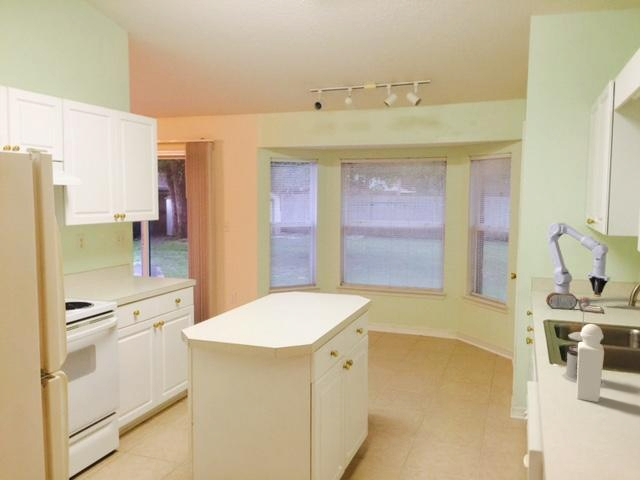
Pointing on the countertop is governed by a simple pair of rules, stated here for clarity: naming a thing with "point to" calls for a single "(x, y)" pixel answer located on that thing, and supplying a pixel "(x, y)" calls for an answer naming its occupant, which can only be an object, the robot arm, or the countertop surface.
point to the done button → (584, 299)
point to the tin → (561, 300)
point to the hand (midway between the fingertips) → (597, 291)
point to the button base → (584, 302)
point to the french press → (573, 359)
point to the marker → (596, 290)
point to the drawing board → (591, 309)
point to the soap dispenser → (590, 363)
